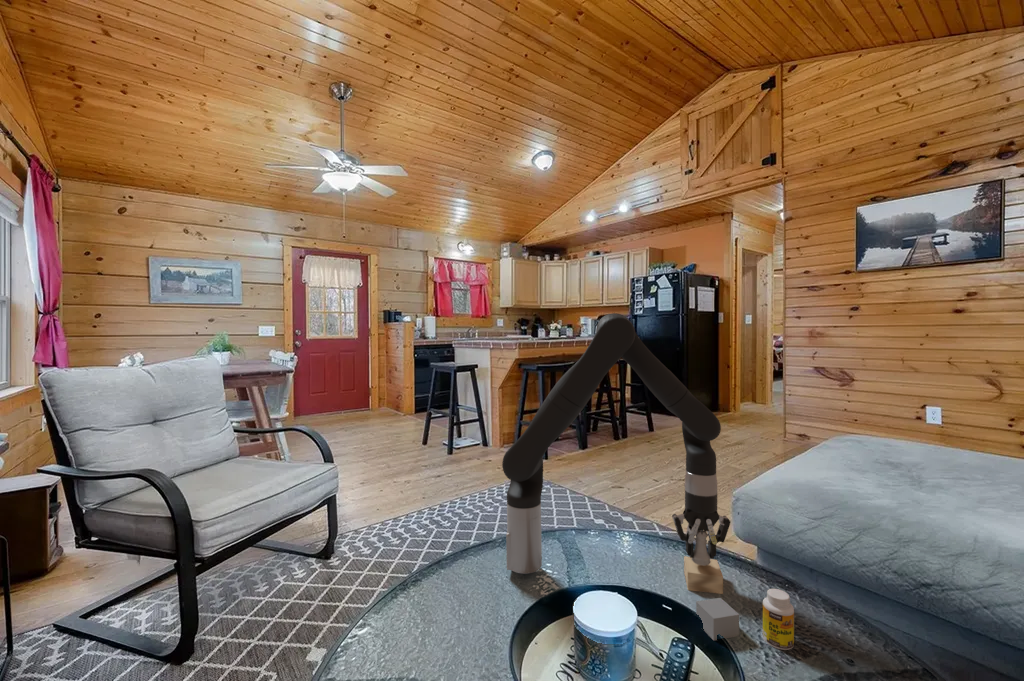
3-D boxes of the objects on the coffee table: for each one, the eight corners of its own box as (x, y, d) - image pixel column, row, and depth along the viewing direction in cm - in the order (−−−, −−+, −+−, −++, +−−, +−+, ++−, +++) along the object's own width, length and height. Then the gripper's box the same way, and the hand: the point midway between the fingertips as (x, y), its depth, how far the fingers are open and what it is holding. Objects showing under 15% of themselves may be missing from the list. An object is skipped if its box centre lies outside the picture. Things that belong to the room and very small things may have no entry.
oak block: (687, 592, 110) (687, 572, 110) (684, 574, 118) (684, 556, 118) (723, 596, 108) (723, 576, 108) (716, 578, 116) (716, 559, 116)
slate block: (713, 642, 92) (713, 618, 92) (696, 623, 98) (696, 601, 98) (739, 638, 94) (739, 614, 93) (720, 619, 99) (720, 597, 99)
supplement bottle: (764, 648, 90) (764, 598, 90) (760, 631, 95) (760, 583, 95) (797, 655, 88) (797, 604, 88) (791, 637, 93) (790, 589, 93)
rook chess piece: (695, 555, 116) (695, 524, 115) (713, 561, 112) (713, 530, 112) (688, 561, 112) (688, 530, 112) (706, 568, 109) (706, 536, 109)
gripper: (675, 494, 109) (675, 563, 109) (736, 495, 108) (736, 565, 108) (667, 483, 116) (668, 548, 117) (725, 484, 115) (725, 550, 115)
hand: (701, 556), depth 112 cm, fingers closed on rook chess piece, 4 cm apart
